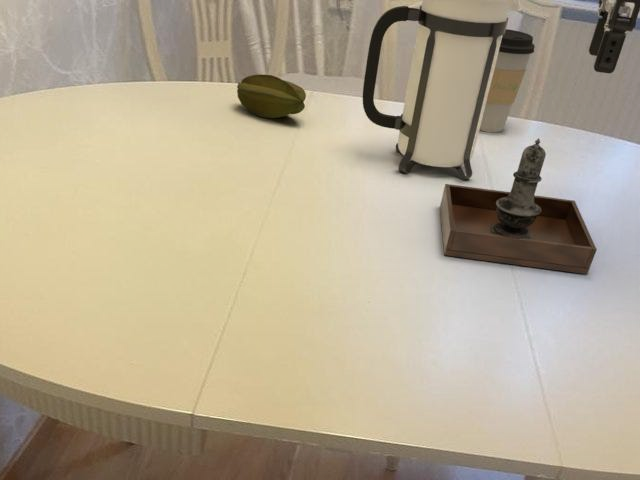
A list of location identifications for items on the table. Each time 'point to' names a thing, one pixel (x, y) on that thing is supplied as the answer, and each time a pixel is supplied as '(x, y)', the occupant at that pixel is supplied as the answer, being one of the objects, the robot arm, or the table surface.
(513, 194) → the salt shaker
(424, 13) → the coffee press
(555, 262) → the tray
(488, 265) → the table surface
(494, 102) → the coffee cup
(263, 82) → the fruit
